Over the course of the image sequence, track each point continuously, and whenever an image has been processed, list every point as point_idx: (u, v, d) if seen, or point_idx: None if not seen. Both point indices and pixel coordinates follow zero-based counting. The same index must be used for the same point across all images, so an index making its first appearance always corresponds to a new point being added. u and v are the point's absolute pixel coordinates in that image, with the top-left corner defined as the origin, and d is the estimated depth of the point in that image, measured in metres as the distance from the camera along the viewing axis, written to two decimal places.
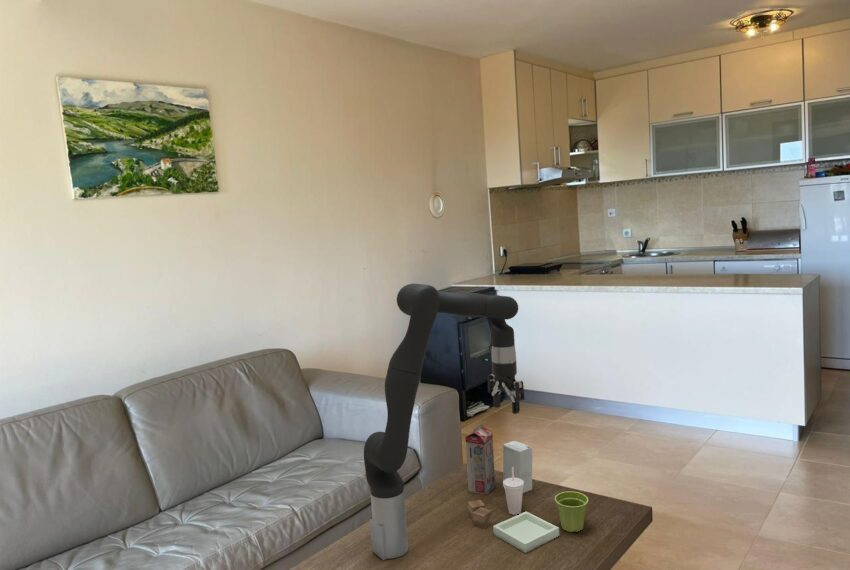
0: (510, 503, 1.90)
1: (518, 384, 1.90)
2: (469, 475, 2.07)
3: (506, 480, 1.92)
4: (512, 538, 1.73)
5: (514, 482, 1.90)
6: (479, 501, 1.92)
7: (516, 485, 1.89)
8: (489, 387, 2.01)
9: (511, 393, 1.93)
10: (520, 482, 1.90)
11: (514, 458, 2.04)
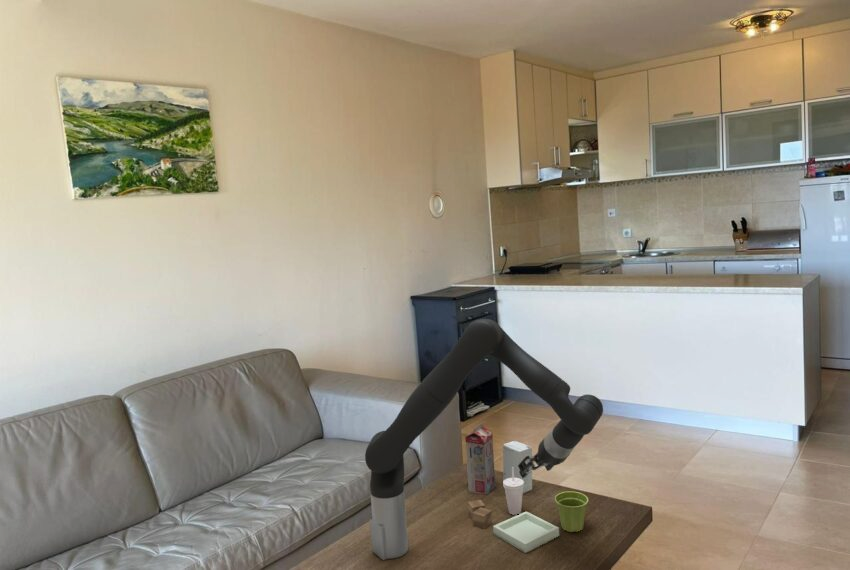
0: (510, 503, 1.90)
1: (526, 459, 1.70)
2: (469, 475, 2.07)
3: (506, 480, 1.92)
4: (512, 538, 1.73)
5: (514, 482, 1.90)
6: (479, 501, 1.92)
7: (516, 485, 1.89)
8: None
9: None
10: (520, 482, 1.90)
11: (514, 458, 2.04)
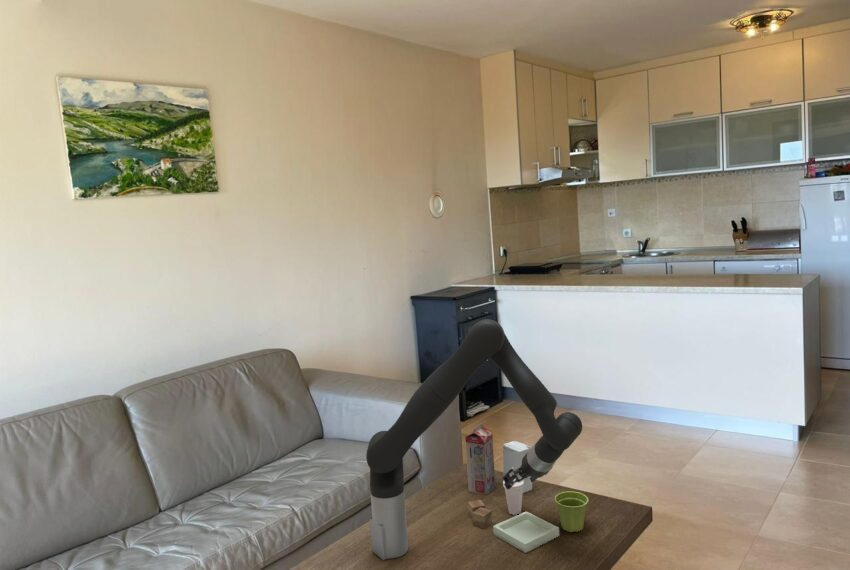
0: (510, 503, 1.90)
1: (510, 471, 1.78)
2: (469, 475, 2.07)
3: None
4: (512, 538, 1.73)
5: None
6: (479, 501, 1.92)
7: (516, 485, 1.89)
8: None
9: None
10: (520, 482, 1.90)
11: (514, 458, 2.04)
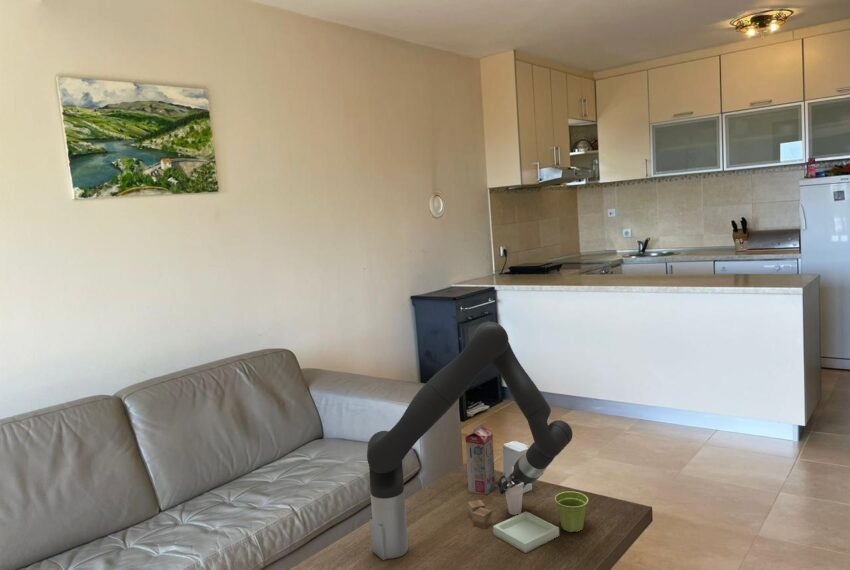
0: (510, 503, 1.90)
1: (501, 478, 1.83)
2: (469, 475, 2.07)
3: None
4: (512, 538, 1.73)
5: None
6: (479, 501, 1.92)
7: None
8: None
9: None
10: None
11: (514, 458, 2.04)
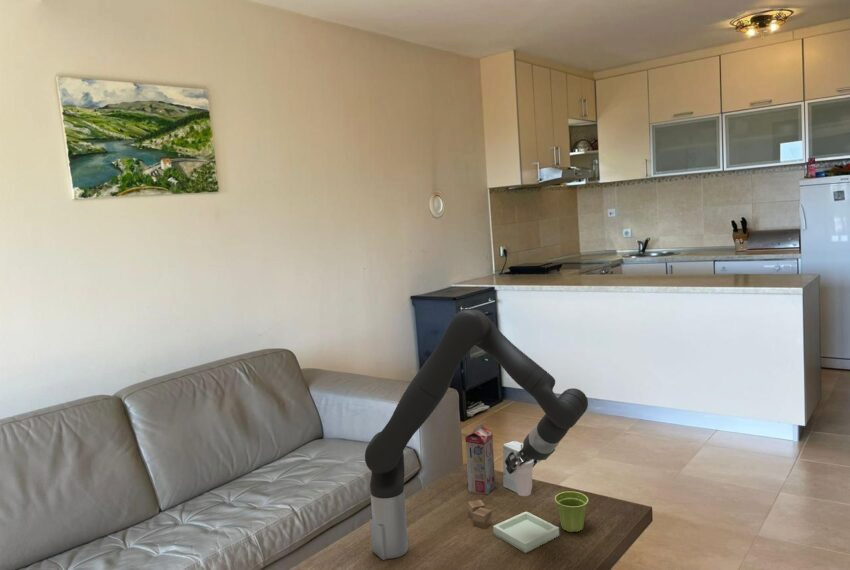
0: (519, 483, 1.75)
1: (510, 455, 1.68)
2: (469, 475, 2.07)
3: None
4: (512, 538, 1.73)
5: None
6: (479, 501, 1.92)
7: None
8: None
9: None
10: None
11: None
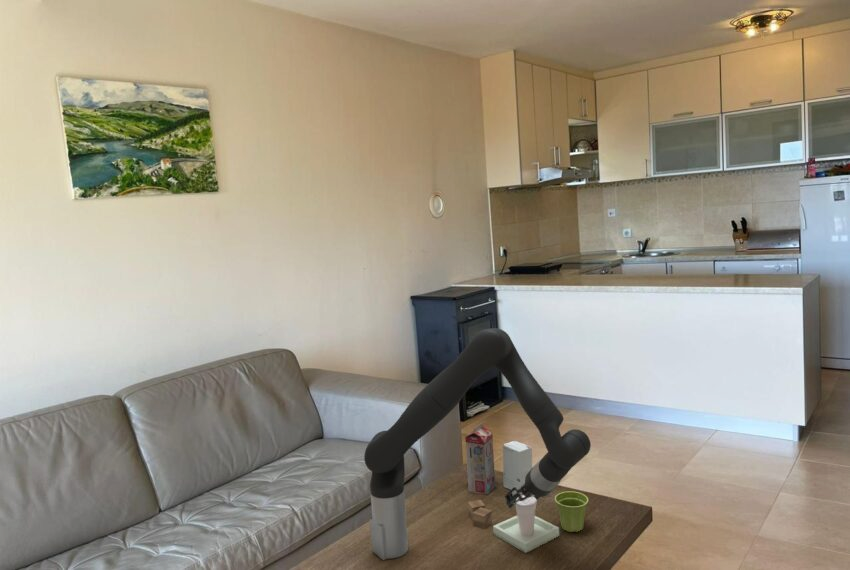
0: (522, 523, 1.76)
1: (512, 490, 1.69)
2: (469, 475, 2.07)
3: (517, 498, 1.78)
4: (512, 538, 1.73)
5: (526, 500, 1.76)
6: (479, 501, 1.92)
7: (528, 504, 1.75)
8: None
9: None
10: (533, 500, 1.76)
11: (513, 458, 2.04)
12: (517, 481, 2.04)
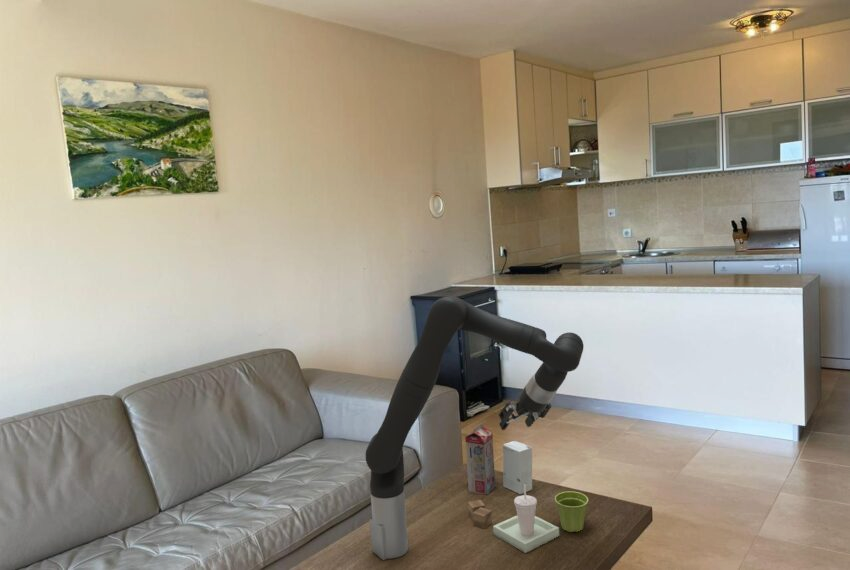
0: (522, 523, 1.76)
1: (507, 405, 1.69)
2: (469, 475, 2.07)
3: (517, 498, 1.78)
4: (512, 538, 1.73)
5: (526, 500, 1.76)
6: (479, 501, 1.92)
7: (529, 504, 1.75)
8: None
9: None
10: (533, 500, 1.76)
11: (514, 458, 2.04)
12: (517, 481, 2.04)
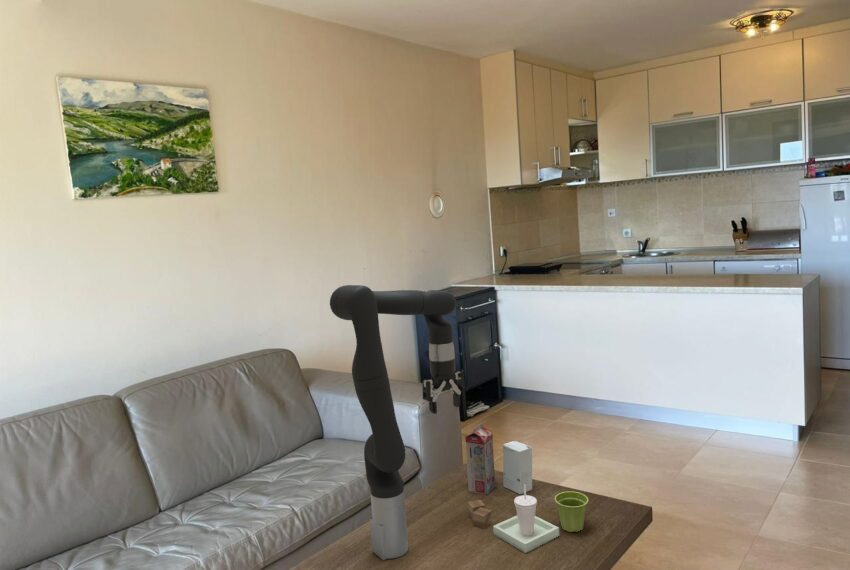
0: (522, 524, 1.76)
1: (423, 382, 1.85)
2: (469, 475, 2.07)
3: (517, 498, 1.78)
4: (512, 538, 1.73)
5: (526, 500, 1.76)
6: (479, 501, 1.92)
7: (529, 504, 1.75)
8: None
9: (431, 391, 1.87)
10: (533, 500, 1.76)
11: (513, 458, 2.04)
12: (517, 481, 2.04)
